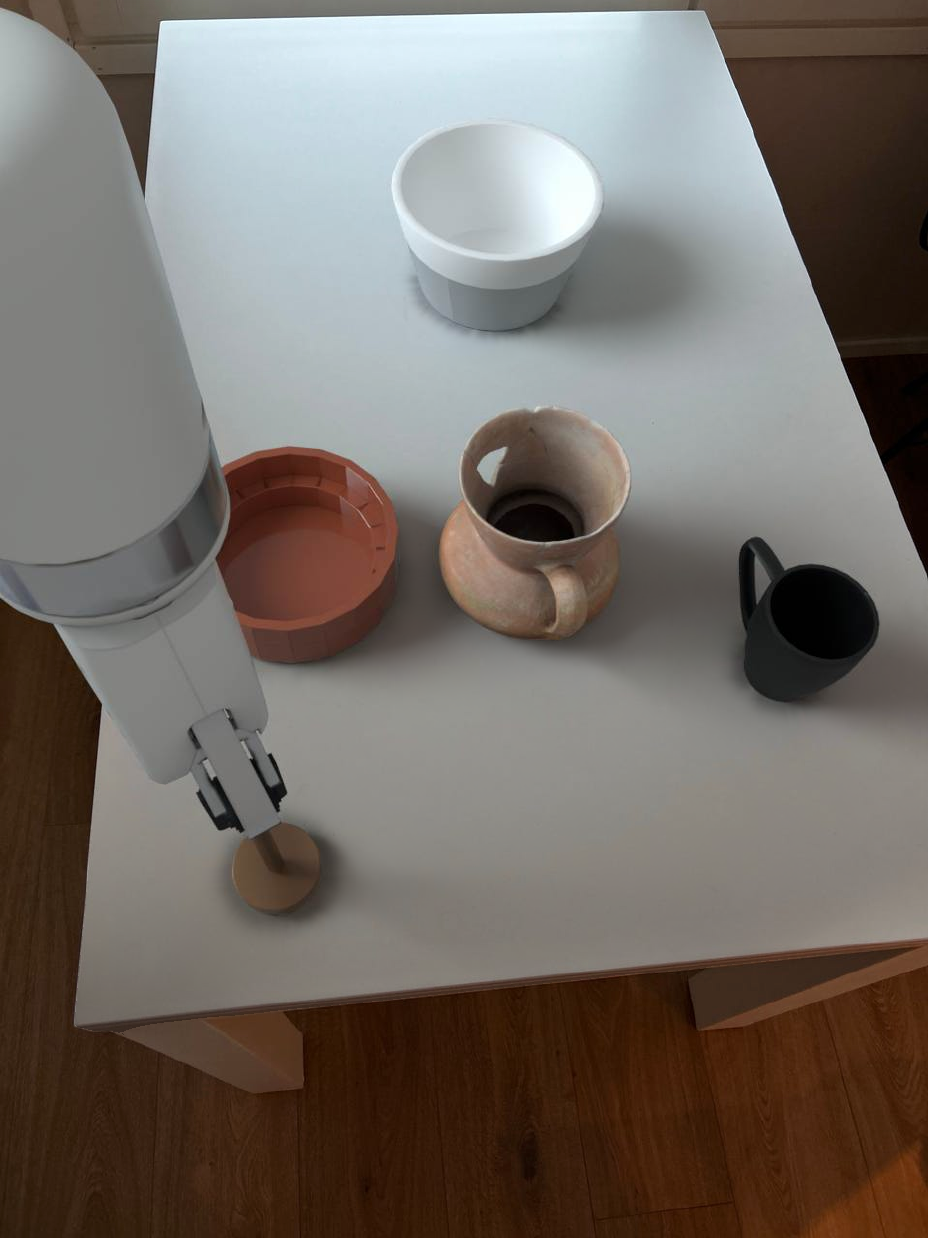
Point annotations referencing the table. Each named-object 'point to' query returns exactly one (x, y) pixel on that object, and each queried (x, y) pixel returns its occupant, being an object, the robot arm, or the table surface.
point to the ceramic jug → (537, 523)
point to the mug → (801, 625)
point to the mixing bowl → (307, 552)
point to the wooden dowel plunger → (277, 869)
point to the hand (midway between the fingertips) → (204, 717)
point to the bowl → (495, 218)
